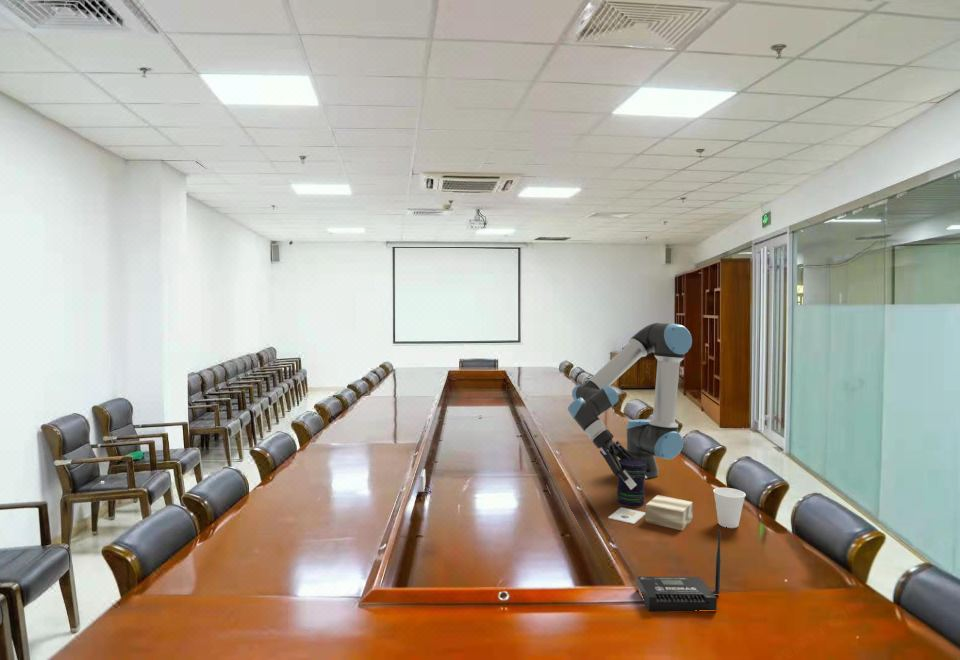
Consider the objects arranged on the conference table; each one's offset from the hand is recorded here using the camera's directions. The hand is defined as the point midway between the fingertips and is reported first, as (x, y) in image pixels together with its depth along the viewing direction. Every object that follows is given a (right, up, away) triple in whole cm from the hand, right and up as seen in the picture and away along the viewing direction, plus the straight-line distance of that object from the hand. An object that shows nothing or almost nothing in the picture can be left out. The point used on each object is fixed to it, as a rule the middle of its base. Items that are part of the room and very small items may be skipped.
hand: (639, 483), depth 213 cm
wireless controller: (-8, -11, -69) cm, 70 cm away
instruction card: (-7, -8, -12) cm, 16 cm away
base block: (+6, -8, -16) cm, 19 cm away
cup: (+24, -9, -19) cm, 32 cm away
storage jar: (-3, -8, +2) cm, 8 cm away
